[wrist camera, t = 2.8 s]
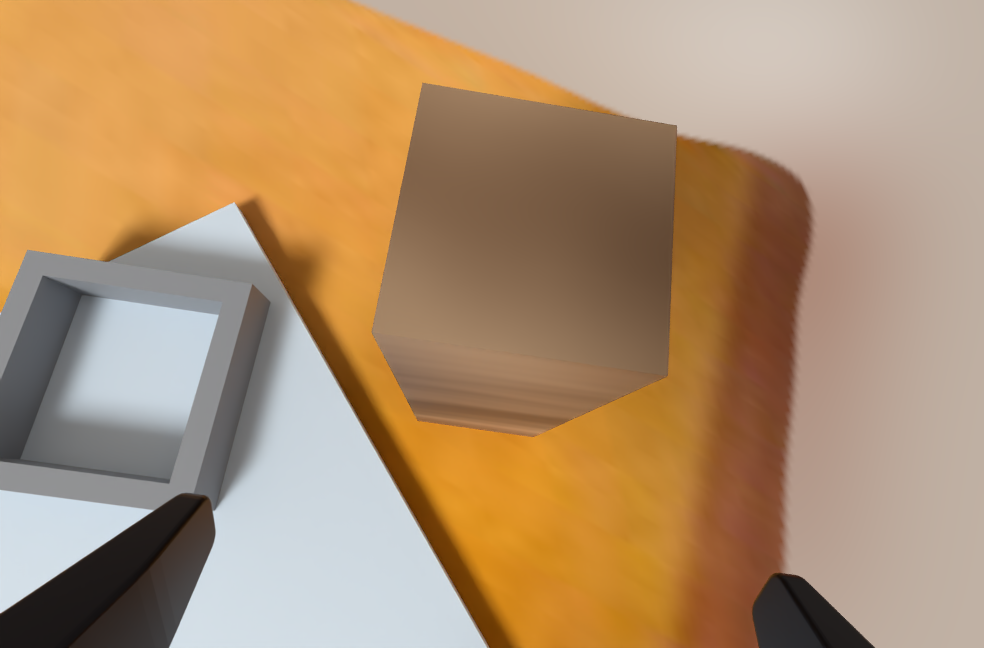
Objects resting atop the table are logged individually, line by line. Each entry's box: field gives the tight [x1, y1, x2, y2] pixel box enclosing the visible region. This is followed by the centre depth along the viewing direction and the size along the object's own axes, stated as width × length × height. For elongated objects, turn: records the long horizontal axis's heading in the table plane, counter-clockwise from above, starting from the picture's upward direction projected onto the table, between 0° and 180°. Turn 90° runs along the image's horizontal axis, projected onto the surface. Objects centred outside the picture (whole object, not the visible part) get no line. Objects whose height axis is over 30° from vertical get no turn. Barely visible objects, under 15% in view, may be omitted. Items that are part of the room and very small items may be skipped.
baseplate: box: [0, 203, 489, 648], centre depth 17 cm, size 24×16×3 cm, turn 33°
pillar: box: [372, 83, 677, 437], centre depth 15 cm, size 4×4×13 cm
